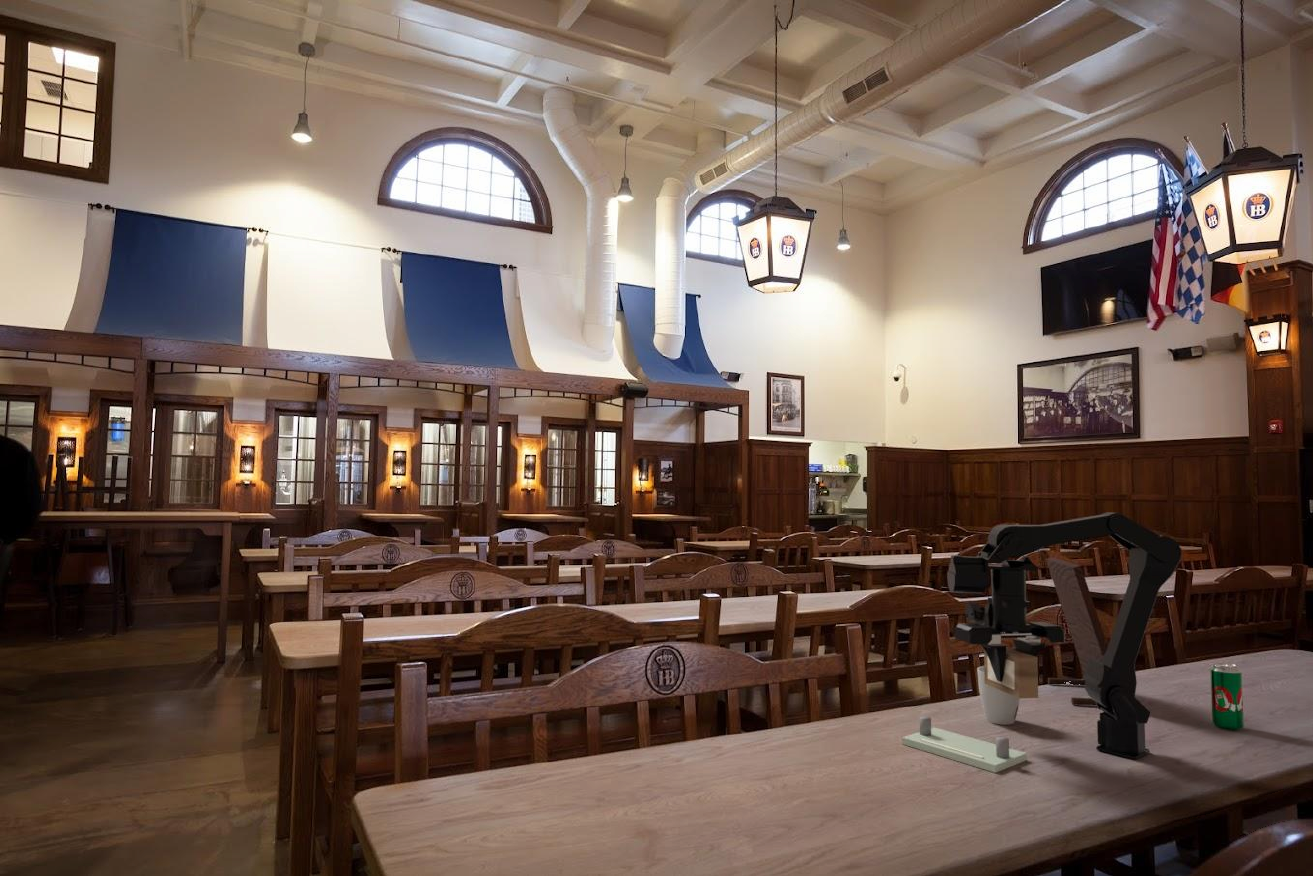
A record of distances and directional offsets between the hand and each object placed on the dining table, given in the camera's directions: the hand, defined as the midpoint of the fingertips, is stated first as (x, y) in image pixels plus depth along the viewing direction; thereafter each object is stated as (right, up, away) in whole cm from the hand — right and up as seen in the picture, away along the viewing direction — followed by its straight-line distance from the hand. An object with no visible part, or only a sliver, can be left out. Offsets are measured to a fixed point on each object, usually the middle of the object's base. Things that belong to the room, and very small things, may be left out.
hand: (1009, 681), depth 143 cm
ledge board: (-10, -12, -3) cm, 16 cm away
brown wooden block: (0, -2, 0) cm, 2 cm away
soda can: (+48, -13, +11) cm, 51 cm away
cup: (+5, -13, +15) cm, 21 cm away
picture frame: (+33, -14, +35) cm, 50 cm away
